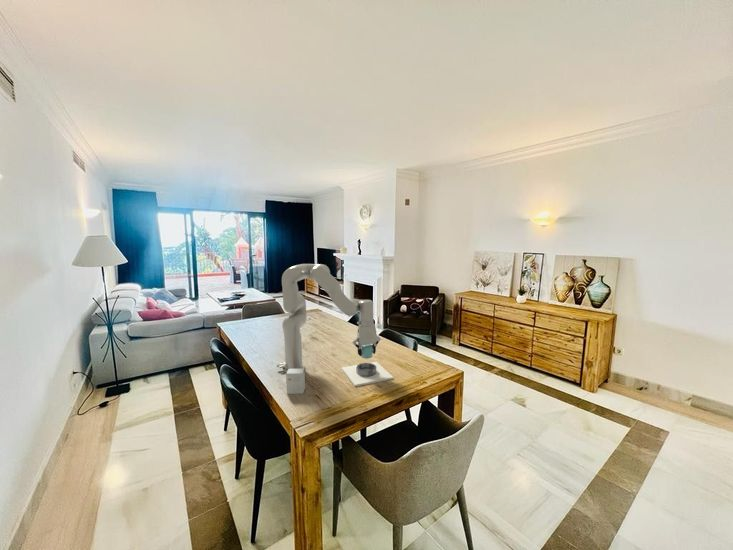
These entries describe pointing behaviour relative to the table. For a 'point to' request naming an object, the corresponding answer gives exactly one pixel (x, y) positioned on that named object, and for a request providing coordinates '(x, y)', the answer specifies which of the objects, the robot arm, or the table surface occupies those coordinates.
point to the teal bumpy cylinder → (367, 351)
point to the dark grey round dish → (366, 372)
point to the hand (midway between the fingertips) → (366, 353)
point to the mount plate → (359, 380)
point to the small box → (295, 381)
